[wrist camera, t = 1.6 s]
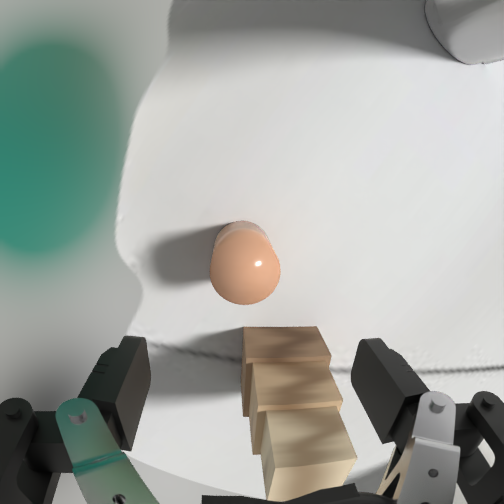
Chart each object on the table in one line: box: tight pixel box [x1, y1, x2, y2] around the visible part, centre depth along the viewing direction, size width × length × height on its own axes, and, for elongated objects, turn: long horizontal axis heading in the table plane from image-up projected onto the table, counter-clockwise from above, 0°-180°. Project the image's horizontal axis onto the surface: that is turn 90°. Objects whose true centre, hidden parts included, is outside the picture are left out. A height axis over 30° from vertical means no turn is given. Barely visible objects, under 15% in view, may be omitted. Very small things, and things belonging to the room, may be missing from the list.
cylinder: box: [210, 221, 280, 305], centre depth 23 cm, size 5×5×6 cm
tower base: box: [241, 326, 331, 417], centre depth 27 cm, size 7×7×5 cm
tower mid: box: [249, 360, 343, 455], centre depth 22 cm, size 6×6×5 cm
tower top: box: [260, 406, 357, 502], centre depth 17 cm, size 5×5×5 cm
